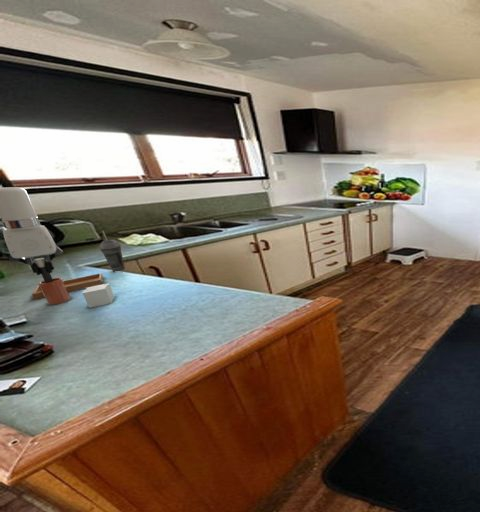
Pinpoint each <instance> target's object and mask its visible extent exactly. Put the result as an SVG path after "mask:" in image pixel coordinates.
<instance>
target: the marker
mask: <svg viewBox="0 0 480 512" xmlns="http://www.w3.org/2000/svg"><path fill="white" fill-rule="evenodd" d="M33 259H34V258H33ZM34 261H35V262H36V264H37V266H38V268H39V270H40V272H41V274H40V275H41V276H42V277H41V278H42V279H43V281H45V283H50V282H54V281H53V277H52V275H51V274H52V273H48V270H47V268H46V266H45V259H44V257H39V258H38V257H37V258H35V259H34Z"/></svg>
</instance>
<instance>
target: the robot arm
mask: <svg viewBox="0 0 480 512" xmlns="http://www.w3.org/2000/svg"><path fill="white" fill-rule="evenodd" d="M0 218H1V221H0V228H4V230H3V231H2V233H3V238H4V241H5V243H6V247H7V249H8V253H9V259H8V260H9V261H10V262H20V263H22V264H25V265H28V266H30V268H31V270H32V272H33V274H36V275H37V276H40V275H41V272H40V270H39V268H38V266H37V264H36V262H35V260H34V257H38V256H39V257H40V256H42V258H44V261H45V266H46V268H47V270H48V273H50V274H52V273H53V272H54V270H55V266H54V264H53V260H54V259H55V257H57V256H60V255H61V254H63V253H64V251H63V250H62V249H61V248H60V247H59V246H58V245H57V244H56V242H55V240H54V239H53V237H52V235H51V233H50V232H49V230H48V228H47V227H46V226H45V225H42V224H41V222H40V220H39V219H40V218H39V217H38V215H37V212H36V211H35V208H34V206H33V203H32V201H31V199H30V197H29V194H28V192H27V190H26V189H24V188H23V187H19V186H12V187H11V186H10V187H9V186H8V187H7V186H6V187H0Z"/></svg>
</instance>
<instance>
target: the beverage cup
mask: <svg viewBox="0 0 480 512" xmlns="http://www.w3.org/2000/svg"><path fill="white" fill-rule="evenodd" d="M101 232H102V234H103V237H104V240H103V241H101V242H100V245H99V250H100V252H101V253H102V255H103V256H104V258H105V260H106V262H107V264H108V266H109V267H110V269H111V270H112V272H113V273H116V272H121V271H125V269H126V267H125V261H124V258H123V254H122V246H121V244H120V243H119V241H117V240H115V239H108V237H107V236H106V233H105V231H104V230H101Z"/></svg>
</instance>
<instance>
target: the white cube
mask: <svg viewBox="0 0 480 512" xmlns="http://www.w3.org/2000/svg"><path fill="white" fill-rule="evenodd" d="M82 295H83V297H84V300H85V302H86V304H87V306H88V308H89V309H90V308H94V307H100V306H103V305H108V304H112V303H113V301H114V299H115V295H114V292H113V289H112V288H111V284H110V282H108V283H103V284H101V285H96V286H92V287H87V288H84V290H83V292H82Z"/></svg>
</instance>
